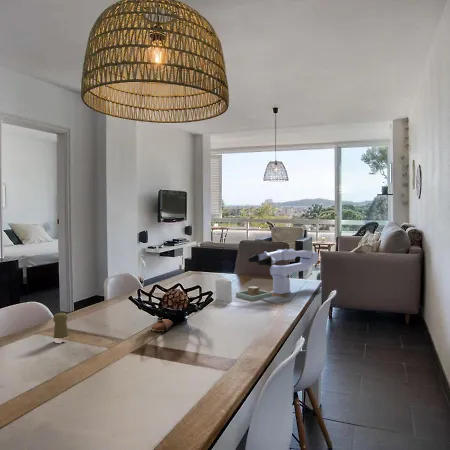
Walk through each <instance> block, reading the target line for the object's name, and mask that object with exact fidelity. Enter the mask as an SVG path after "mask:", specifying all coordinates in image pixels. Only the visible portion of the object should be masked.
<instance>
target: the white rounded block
mask: <svg viewBox="0 0 450 450" xmlns="http://www.w3.org/2000/svg"><path fill="white" fill-rule="evenodd" d="M232 290H233V289H232V281H231V280H229V279H228V278H225V277H218V278H216V280H215V299H216V300H217V301H221V302H225V303H231V302H232V300H233V296H232V295H233V294H232V293H233V292H232Z"/></svg>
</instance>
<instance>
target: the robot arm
mask: <svg viewBox="0 0 450 450" xmlns="http://www.w3.org/2000/svg"><path fill="white" fill-rule="evenodd" d="M297 257H298V258H299V257H300V258H299V262H297V263H291V264H286V265H285V264H284V265H276V264H275V263H276V262H279V261H282V260H283V261H288V260H294V259H296V258H297ZM319 258H320V256H319V252H317V251H311V250H302V249H301V250H295V249H294V248H289V249H287V248H284V249H279V248H278V249H276V251H270V252H267V251H263V253H260V254H259V253H258V252H255V253H254V254H253V255H251V256H250V257H248V263H257V264H258V265H259V266H268V267H269V273H270V276H271V277H272V290H271V291H270V292H271V293H272V294H277V295H281V294H283V295H284V294H286V293H287V294H288V293H291V288H290V287H291V285H290V278H289V277H287V276H290V275H291V274H292V273H299V272H303V271H307V270H309V269H310V268H311V267H312V266H313V265H315V264H317V263H318V261H319Z"/></svg>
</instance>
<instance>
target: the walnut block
mask: <svg viewBox="0 0 450 450" xmlns="http://www.w3.org/2000/svg"><path fill="white" fill-rule="evenodd" d="M247 290H248V295H250V296H256V295H259V290H260V287H258V286H255V285H254V286H253V285H252V286H248V287H247Z"/></svg>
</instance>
